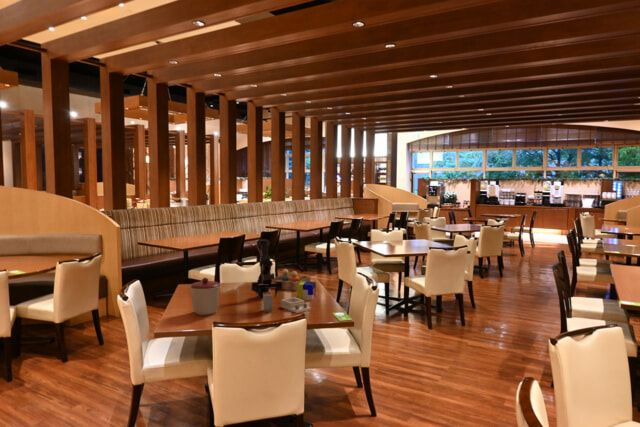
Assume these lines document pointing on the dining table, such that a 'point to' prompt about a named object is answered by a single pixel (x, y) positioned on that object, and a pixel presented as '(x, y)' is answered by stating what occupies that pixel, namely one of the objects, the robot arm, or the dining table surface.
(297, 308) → the chassis
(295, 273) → the toy bolts
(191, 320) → the dining table surface
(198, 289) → the canister
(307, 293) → the puzzle toy
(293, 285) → the bolt corral
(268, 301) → the grey tall block
